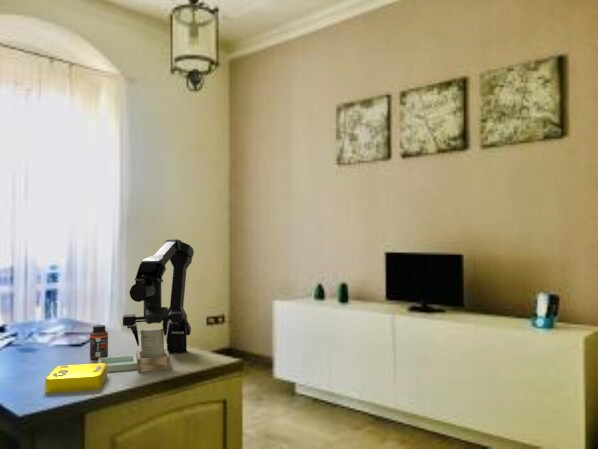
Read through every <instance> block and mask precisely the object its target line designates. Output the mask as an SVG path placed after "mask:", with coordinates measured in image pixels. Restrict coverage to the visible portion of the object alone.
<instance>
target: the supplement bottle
mask: <svg viewBox="0 0 598 449" xmlns="http://www.w3.org/2000/svg"><path fill="white" fill-rule="evenodd" d="M89 357H90V358H89V359H90V360H94V361H95V360H97V361H98V358H102V357H109V332H108V331H107V330H106V325H105V324H96V325H93V326H92V332H90V334H89Z"/></svg>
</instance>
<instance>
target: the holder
mask: <svg viewBox="0 0 598 449" xmlns="http://www.w3.org/2000/svg"><path fill="white" fill-rule="evenodd" d="M135 353H136V354H135V355H136V359H137V369H136V370H137V373H144V372H153V371H154V372H155V371H165V370H171V355H170V353H169V352H168V351H167V348H164V357H153V358H142V354H141V350H136V352H135Z"/></svg>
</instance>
